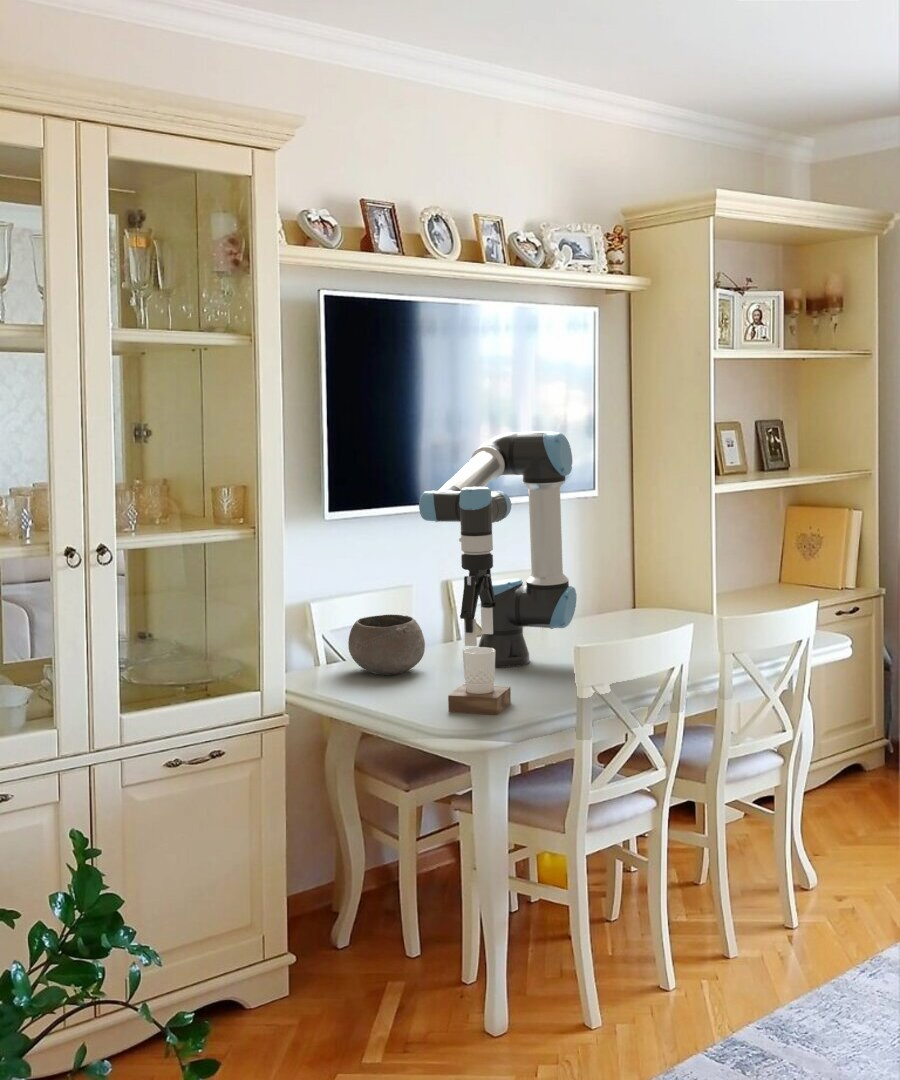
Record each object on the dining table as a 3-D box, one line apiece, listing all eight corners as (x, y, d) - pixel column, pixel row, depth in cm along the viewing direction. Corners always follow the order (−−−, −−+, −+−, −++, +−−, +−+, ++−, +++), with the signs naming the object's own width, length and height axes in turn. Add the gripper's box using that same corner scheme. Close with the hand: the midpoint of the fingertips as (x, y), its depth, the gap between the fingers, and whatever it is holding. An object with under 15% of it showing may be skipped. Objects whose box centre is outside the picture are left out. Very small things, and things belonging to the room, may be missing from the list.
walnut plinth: (463, 700, 310) (463, 684, 310) (510, 702, 306) (510, 686, 306) (448, 711, 299) (448, 695, 298) (496, 714, 295) (496, 698, 295)
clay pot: (423, 680, 332) (422, 624, 331) (345, 681, 333) (343, 626, 331) (427, 664, 353) (426, 611, 352) (353, 665, 354) (352, 612, 352)
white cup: (500, 693, 299) (499, 652, 298) (469, 696, 297) (468, 654, 296) (489, 686, 307) (489, 646, 306) (459, 688, 305) (458, 648, 304)
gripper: (477, 544, 311) (479, 628, 314) (445, 559, 288) (448, 650, 291) (506, 545, 309) (508, 629, 312) (476, 560, 285) (478, 651, 288)
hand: (479, 639), depth 301 cm, fingers open, 13 cm apart
